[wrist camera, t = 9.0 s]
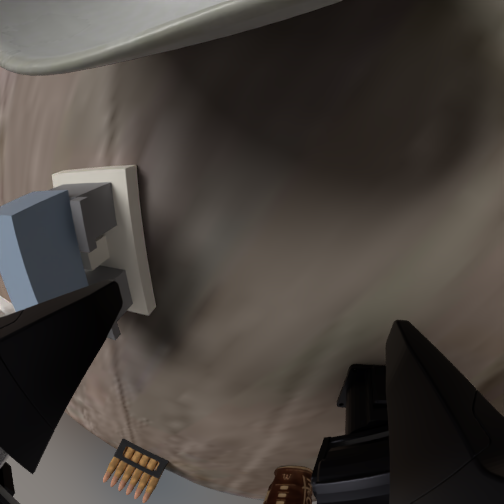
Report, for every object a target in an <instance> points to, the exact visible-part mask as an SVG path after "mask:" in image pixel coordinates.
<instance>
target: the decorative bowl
mask: <svg viewBox="0 0 504 504" xmlns="http://www.w3.org/2000/svg"><path fill="white" fill-rule="evenodd" d="M340 1H343V0H0V67H2V68H4V69H6V70H8V71H11V72H14V73H17V74H23V75H30V76H36V75H54V74H63V73H70V72H75V71H80V70H86V69H92V68H97V67H102V66H106V65H110V64H115V63H119V62H124V61H129V60H133V59H137V58H141V57H145V56H149V55H153V54H158V53H162V52H167V51H171V50H175V49H179V48H183V47H187V46H191V45H195V44H199V43H203V42H207V41H211V40H214V39H218V38H222V37H226V36H230V35H234V34H237V33H241V32H244V31H248V30H251V29H255V28H259V27H262V26H265V25H269V24H272V23H275V22H279V21H282V20H286V19H289V18H292V17H295V16H298V15H301V14H304V13H308V12H311V11H314V10H317V9H320V8H322V7H325V6H328V5H332V4H335V3H338V2H340Z"/></svg>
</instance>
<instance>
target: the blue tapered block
mask: <svg viewBox="0 0 504 504" xmlns="http://www.w3.org/2000/svg"><path fill="white" fill-rule="evenodd" d="M0 273H1V276H2V278H3V281H4V284H5V287H6V289H7V292H8V294H9V297H10V299H11V302H12V304H13V306H14V309H15V311H16V312H17V311H20V310H23V309H24V310H25V309H26V308H28V307H31V306H34V305H36V304H39V303H42V302H45V301H47V300H50V299H53V298H56V297H58V296H61V295H64V294H67V293H70V292H72V291H75V290H78V289H81V288H84V287H87V286H89V285H88V281H87V278H86V274H85V270H84V266H83V263H82V259H81V254H80V250H79V246H78V242H77V237H76V232H75V227H74V222H73V217H72V212H71V206H70V200H69V193H68V190H53V191H35V192H31V193H29V194H27V195H24V196H22V197H20V198H18V199H15V200H13V201H11V202H9V203H7V204H4V205H2V206H0Z"/></svg>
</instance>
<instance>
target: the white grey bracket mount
mask: <svg viewBox="0 0 504 504" xmlns="http://www.w3.org/2000/svg"><path fill="white" fill-rule="evenodd" d="M52 179H53V186H54V188H53V189H50V190H48V191H53V190H68V193H69V200H70V206H71V212H72V217H73V222H74V227H75V232H76V237H77V242H78V246H79V250H80V254H81V259H82V263H83V266H84V270H85V274H86V278H87V281H88V285H92V284H95V283H98V282H101V281H104V280H113V281H116V282H117V283H118V284H119V288H120V292H121V296H122V299H123V306H122V309H121V310H120V312H119V314H118V316H117V318H116V320H115V322H114V324H113V326H112V328H111V330H110V332H109V334H108V336H107V338H110V339H113V340H116V339H117V338H118V337H119V335H120V334H121V333H120V330H119V327H118V324H117V321H118V320H119V319H120V317H121V316H122V315H123V314H124V313H125V312H126V311H131V312H135V313H139V314H144V315H148V316H149V315H150V314H151V312H152V311H153V310H154V309H155V307H156V302H155V297H154V292H153V287H152V282H151V276H150V270H149V264H148V258H147V252H146V246H145V239H144V232H143V224H142V216H141V208H140V199H139V189H138V178H137V165H123V166H107V167H95V168H83V169H73V170H64V171H60V172H58V173H55V174H52Z"/></svg>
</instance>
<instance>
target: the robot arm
mask: <svg viewBox="0 0 504 504" xmlns="http://www.w3.org/2000/svg"><path fill="white" fill-rule="evenodd" d="M122 306H123V299H122V296H121V292H120V288H119V284H118V283H117V282H116V281H113V280H104V281H101V282H98V283H95V284H92V285H89V286H87V287H84V288H81V289H78V290H75V291H72V292H70V293H67V294H64V295H61V296H58V297H56V298H53V299H50V300H47V301H45V302H42V303H39V304H36V305H34V306H31V307H28V308H26V309H25V310H24V309H23V310H20V311H17V312H15V313H12V314H9V315H6V316H3V317H0V504H20V503H19V502H18V501H17V500H15V499H14V498H13V495H14V494H15V491H14V485H13V478H12V471H11V466H10V465H9V464H8V463H7V462H6V460H7V459H8V457H9V456H11V457H12V458H13V459H14V460H15V461H17V462H18V463H19V464H20V465H22V466H23V467H24V468H25V469H27V470H28V471H29V472H30V473H32V474H33V473H34V472H35V470H36V468H37V466H38V464H39V462H40V459H41V457H42V455H43V453H44V451H45V449H46V447H47V445H48V442H49V441H50V439H51V436H52V434H53V432H54V430H55V428H56V426H57V424H58V422H59V420H60V418H61V417H62V415H63V413H64V411H65V409H66V407H67V405H68V404H69V402H70V400H71V398H72V396H73V395H74V393H75V391H76V389H77V387H78V386H79V384H80V382H81V380H82V379H83V377H84V375H85V374H86V372H87V370H88V368H89V367H90V365H91V363H92V362H93V360H94V358H95V357H96V355H97V353H98V352H99V350H100V348H101V347H102V345H103V343H104V342H105V340H106V338H107V336H108V334H109V332H110V330H111V328H112V326H113V324H114V322H115V320H116V318H117V316H118V314H119V312H120V310H121V309H122ZM354 369H356V370H354ZM337 406H338V407H345V408H346V427H345V435H342V436H337V437H326V438H324V440H323V443H322V445H321V448H320V451H319V454H318V458H317V461H316V464H315V467H314V470H313V472H312V475H311V485H312V487H313V493H314V496H315V498H316V499H317V504H504V417H503V416H502V415H501V414H500V413H499V412H498V411H497V410H496V409H495V408H494V407H493V406H492V405H491V404H490V403H489V402H488V401H487V400H486V399H485V398H484V397H483V395H482V394H481V393H480V392H479V391H478V390H477V391H476V388H475V387H474V386H473V385H472V384H471V383H470V382H469V381H468V380H467V379H466V378H465V377H464V375H463V374H462V373H461V372H460V371H459V370H458V369H457V368H456V367H455V366H454V365H453V364H452V363H451V362H450V361H449V360H448V359H447V358H446V357H445V356H444V355H443V354H442V353H441V352H440V351H439V350H438V349H437V348H436V347H435V346H434V345H433V344H432V343H431V342H430V341H429V340H428V339H427V338H426V337H425V336H424V335H422V334H421V333H420V332H419V331H418V330H417V329H416V328H415V327H414V326H413V325H412V324H411V323H410V322H409V321H407V320H396V321H394V323H393V325H392V328H391V331H390V334H389V336H388V339H387V342H386V366H378V365H360V364H353V365H351V366H350V367H349V370H348V373H347V376H346V379H345V381H344V384H343V387H342V390H341V392H340V395H339V397H338V400H337Z"/></svg>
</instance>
